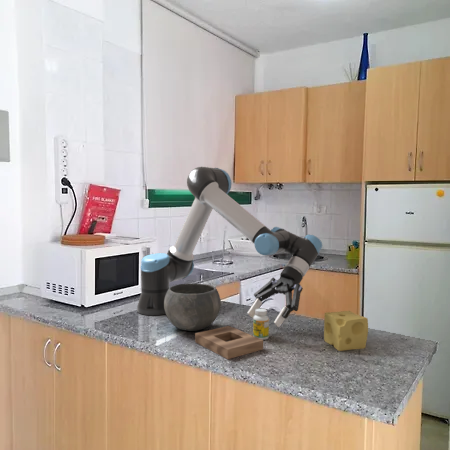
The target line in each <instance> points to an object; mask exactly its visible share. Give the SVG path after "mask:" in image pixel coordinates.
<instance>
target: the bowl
mask: <svg viewBox="0 0 450 450" xmlns="http://www.w3.org/2000/svg"><path fill="white" fill-rule="evenodd" d="M221 308H222V302H221V296H220V294H219V290H218V289H217V288H216V287H215V286H214V285H211V284H204V283H179V284H175V285H172V286H169V289H168V291H167V293H166V295H165V299H164V309H165V312H166V314H165V315H166V317H167V319H168V320H169V321H170V323H171V324H172V325H173V326H174V327H176V328H178V329H179V330H182V331H189V332H194V331H196V332H197V331H201V330H204V329H206V328H208V327H209V326H211V325H212V324H213V323H214V322H215V321H216V319H217V318H218V316H219V314H220V311H221Z"/></svg>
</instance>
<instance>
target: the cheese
mask: <svg viewBox="0 0 450 450" xmlns="http://www.w3.org/2000/svg"><path fill="white" fill-rule="evenodd" d="M323 319H324V321H323V325H324V326H323V338H324V339H323V341H324V342H325V343H327V344H328V345H330V346H333V348H334V349H336V350H337V351H339V352H343V351H350V350H361V349H362V350H363V349H366V345H367V340H368V334H369V320H368V317H365V316H362V315H359V314H357V313H355V312H353V311H351V310H343V311H341V310H340V311H332V312H330V311H329V312H327V311H326V312H324V318H323Z"/></svg>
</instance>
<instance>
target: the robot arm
mask: <svg viewBox="0 0 450 450" xmlns="http://www.w3.org/2000/svg"><path fill="white" fill-rule="evenodd" d="M186 185H187V186H186V187H187V188H188V191H189V192H190V193H191V194H192V195H193V197H194V200H193V202H192V204H191V206H190V209H189V211H188V214H187V216H186V218H185V221H184V223H183V225H182V228H181V230H180V232H179V235H178V237H177V239H176V242H175V244H174V245H171V246H170V247H169V248H168V251H167V253H163V252H161V253H160V252H159V253H152V254H151V253H150V254H148V255H145V256H143V257H142V259H141V262H140V283H141V286H140V287H141V288H140V291H141V293H140V295H139V299H138V303H137V306H136V310H137V313H138V314H140V315H146V316H160V315H166V312H165V309H164V299H165V295H166V293H167V291H168V289H169V288H170V283H173V282H176V281H181V280H184V279H185V278H188V277H189V276H191V275H192V273H193V272H194V269H195V263H194V259H195V256H194V251H195V248H196V247H197V245H198V242H199V240H200V238H201V235H202V233H203V230H204V229H205V227H206V225H207V222H208V220H209V217H210V215H211V213H212V211H213V210H214V211H215V212H216V213H217V214H218V215H220V217H222V218H223V219H224V220H226V221H227V222H228V223H229V224H230V225H232V227H234V228H235V229H236V230H237V231H238V232H240V233H241V234H242V236H245V237H246V238H247V240H249V241H250V242H251V243H253V245H254V249H255V251H256V252H257V253H258V254H260V255H262V256H272V255H275V254H277V253H282V252H284V253H287V254H289V255H291V257H290V259H289V260H288V262H287V263H285V264H286V265H285V266H284V268H283V269H282V271H281V272H280V273H279V278H278V279H276V278H275V277H272V278H270V280H269V281H268V282H267V283H266V284H265V285H263V286H262V287H261V288H259V289H258V290H257V291H256V292H254V294H253V297H255V299H254V301H253V302H252V304H251V306H250V308H249V309H248V311H247V313H246V314H248V315H249V317H250V318H253V317H254V316H255V315H256V314H255V310H256V309H261V308H260V307H261V306H262V304H263V301H265V300H267V299H269V298H271V297H272V296H274V295H275V294H276V295H278V294H282V295H284V296H285V306H283V307H282V309H281V310H280V312H279V313H278V315H277V316H276V318H275V320H274V321H273V323H274V324H275V326H277V328H281V325H282V324H283V323H284V322H285V320H286V319H288V317H289V316H290V314H291V312H293V311H295V312H298V310H299V308H300V307H299V306H300V299H301V293H302V291H303V290H304V289H303V286H302V285H301V284H300V283H301V282H302V280H303V279H304V277H305V276H306V274H307V273H308V271H309V269H310V268H311V266H312V265H313V263H314V262H315V260H316V259H317V257H318V256H319V254H320V252H321V251H322V249H323V243H322V241H321V239H320V238H319V237H317V236H315V235H313V234H307V235H305V236H304V237H301V236H298V235H296V234H294V233H292V232H290V231H287V230H286V229H284V228H281V227H279V226H274V227H272V228H271V229H269V228H268V226H266V225H265V224H264V223H262V222H261V221H260V220H259V219H257V218H256V217H255V216H254V215H253V214H251V212H249V211H248V210H247V209H246V208H244V207H243V206H242V205H241V204H239V203H238V202H237V201H235V199H233V198H232V197H231V196H230V195H229V193H230V191H231V189H232V179H231V176H230V174H229V173H228V172H227V171H226V170H224V169H222V168H221V169H220V168H219V167H208V166H207V167H206V166H198V167H195V168H194V169H192V170H191V171H190V172H189V173H188V175H187V179H186Z"/></svg>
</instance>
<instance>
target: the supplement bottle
mask: <svg viewBox="0 0 450 450" xmlns="http://www.w3.org/2000/svg"><path fill="white" fill-rule="evenodd" d="M267 314H268V310H267V309H266V308H259V309H256V310H255V315H254V317H253V319H252V321H253V323H252V325H253V326H252V331H253V332H252V336H254V337H257V338H259V339H262V340H263V341H264V340H268V339H269V338H270V337H269V336H270V318H269V316H268V315H267Z"/></svg>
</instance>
